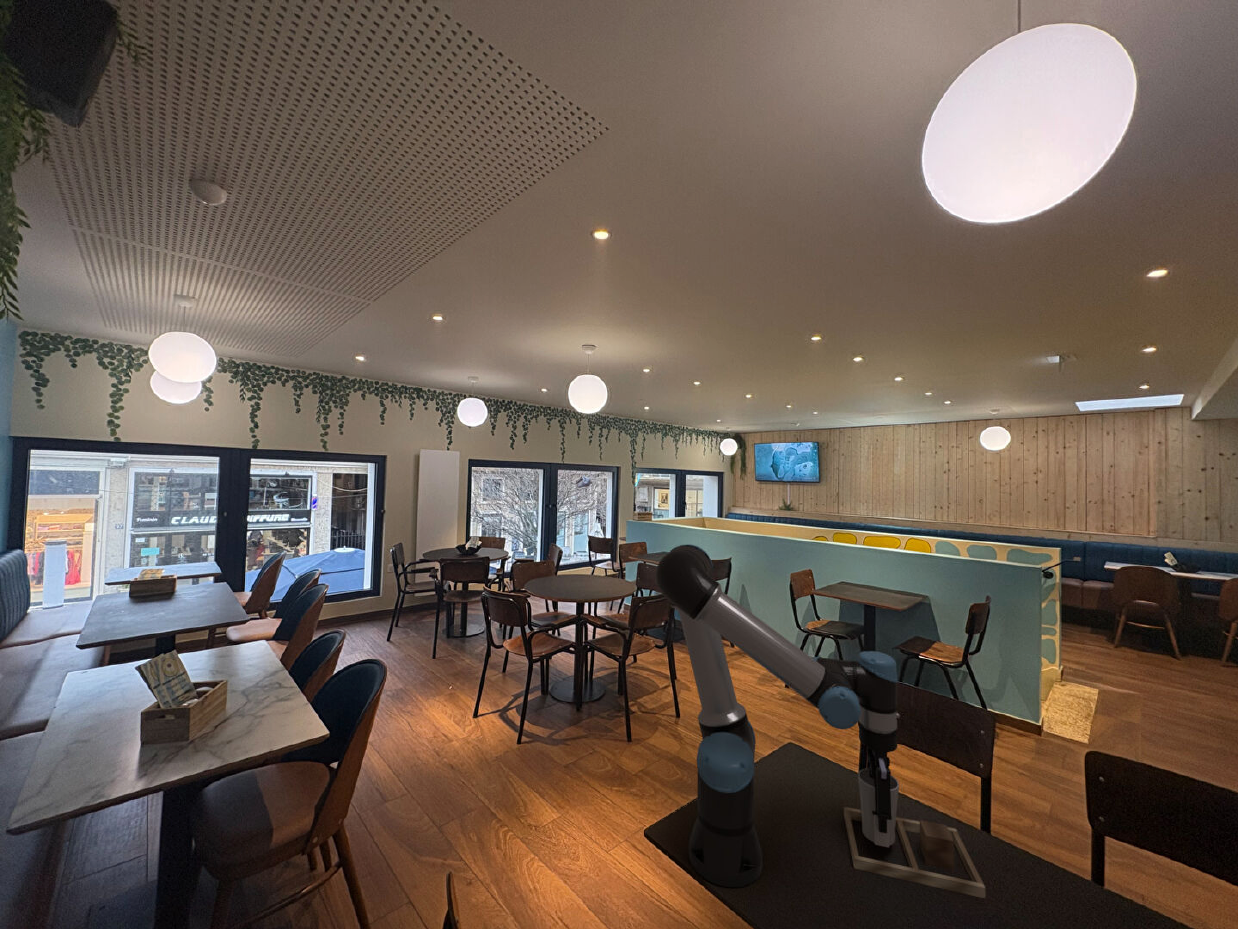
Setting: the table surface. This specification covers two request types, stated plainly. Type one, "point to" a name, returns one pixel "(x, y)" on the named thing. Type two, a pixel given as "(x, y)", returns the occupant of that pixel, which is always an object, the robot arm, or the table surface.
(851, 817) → the frame
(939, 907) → the table surface
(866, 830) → the cup
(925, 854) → the walnut block
